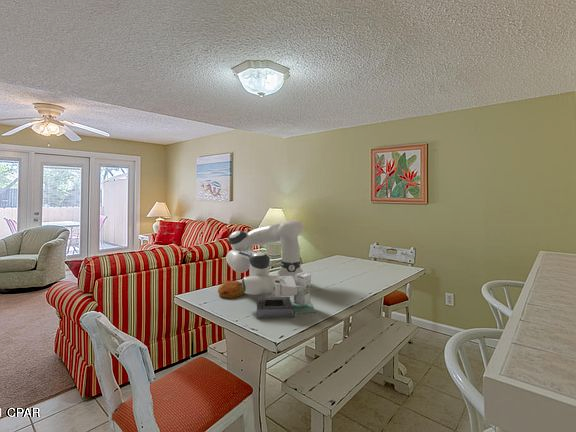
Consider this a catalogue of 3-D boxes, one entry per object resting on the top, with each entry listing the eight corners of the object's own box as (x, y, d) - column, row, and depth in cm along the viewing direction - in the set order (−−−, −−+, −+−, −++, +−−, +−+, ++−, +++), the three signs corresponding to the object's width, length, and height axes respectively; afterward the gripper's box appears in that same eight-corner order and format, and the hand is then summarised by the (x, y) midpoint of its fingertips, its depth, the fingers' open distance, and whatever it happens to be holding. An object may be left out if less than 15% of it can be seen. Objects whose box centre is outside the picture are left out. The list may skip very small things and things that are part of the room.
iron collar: (257, 305, 151) (257, 297, 151) (289, 304, 152) (289, 296, 152) (256, 318, 135) (256, 309, 135) (292, 317, 136) (293, 308, 136)
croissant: (226, 292, 176) (224, 278, 176) (250, 292, 171) (248, 277, 171) (212, 300, 163) (210, 285, 163) (238, 299, 158) (236, 284, 158)
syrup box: (301, 300, 153) (301, 271, 152) (310, 303, 149) (311, 273, 148) (293, 303, 148) (294, 274, 147) (303, 306, 145) (304, 276, 144)
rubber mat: (290, 302, 155) (290, 301, 155) (310, 302, 156) (310, 301, 156) (293, 313, 141) (293, 312, 141) (315, 312, 142) (315, 311, 142)
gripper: (274, 284, 157) (301, 284, 159) (276, 298, 137) (307, 298, 138) (275, 272, 157) (301, 272, 158) (277, 284, 137) (307, 284, 138)
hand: (304, 284), depth 148 cm, fingers closed on syrup box, 8 cm apart
